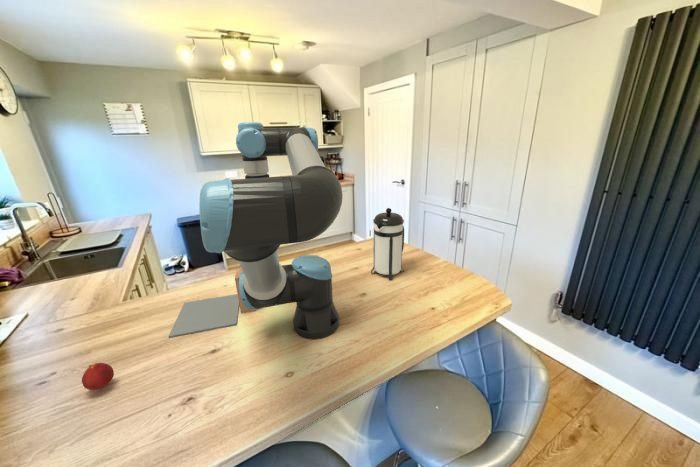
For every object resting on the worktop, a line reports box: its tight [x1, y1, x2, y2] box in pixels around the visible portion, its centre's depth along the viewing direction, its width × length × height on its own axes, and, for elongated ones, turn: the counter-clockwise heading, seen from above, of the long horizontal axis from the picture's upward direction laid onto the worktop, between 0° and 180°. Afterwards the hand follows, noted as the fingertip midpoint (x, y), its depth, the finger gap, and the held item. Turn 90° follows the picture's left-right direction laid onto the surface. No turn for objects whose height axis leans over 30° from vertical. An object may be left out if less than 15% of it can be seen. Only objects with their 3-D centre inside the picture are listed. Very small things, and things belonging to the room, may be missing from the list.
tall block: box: [234, 268, 257, 314], centre depth 101 cm, size 7×5×14 cm
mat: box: [168, 293, 240, 339], centre depth 100 cm, size 20×20×1 cm
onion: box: [81, 362, 115, 391], centre depth 69 cm, size 6×6×8 cm
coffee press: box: [370, 207, 405, 281], centre depth 122 cm, size 17×16×30 cm
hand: (265, 242), depth 98 cm, fingers closed
